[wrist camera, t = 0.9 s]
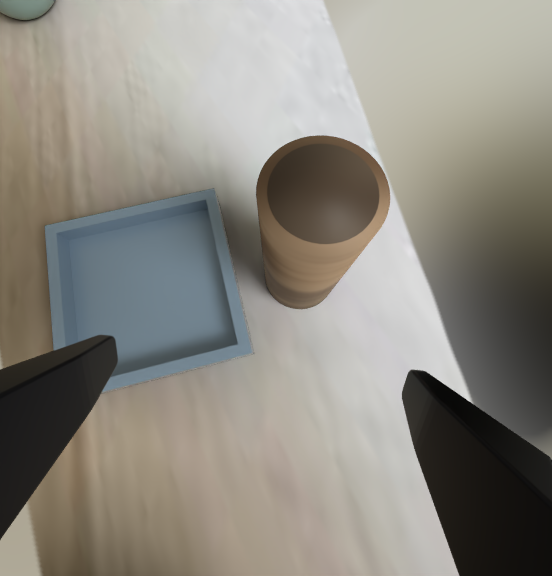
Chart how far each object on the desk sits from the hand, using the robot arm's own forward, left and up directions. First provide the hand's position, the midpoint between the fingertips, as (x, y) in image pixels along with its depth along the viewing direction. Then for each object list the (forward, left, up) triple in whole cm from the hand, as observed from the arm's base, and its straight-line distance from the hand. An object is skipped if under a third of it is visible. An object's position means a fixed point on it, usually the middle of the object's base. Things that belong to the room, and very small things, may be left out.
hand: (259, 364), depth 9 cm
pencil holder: (+6, -4, -13) cm, 15 cm away
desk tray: (+7, +8, -13) cm, 17 cm away
